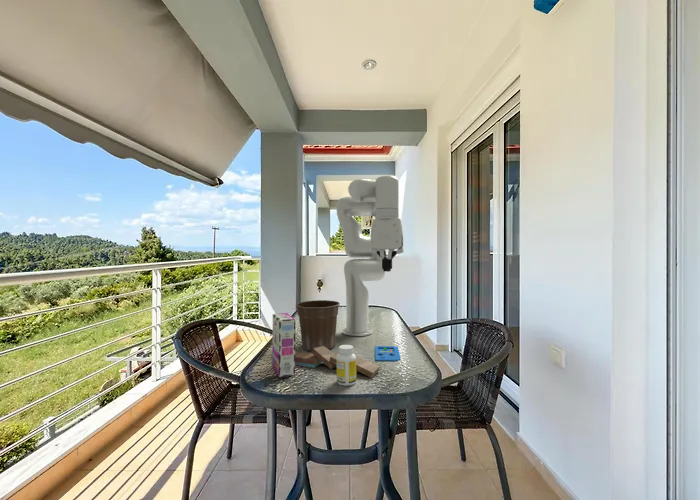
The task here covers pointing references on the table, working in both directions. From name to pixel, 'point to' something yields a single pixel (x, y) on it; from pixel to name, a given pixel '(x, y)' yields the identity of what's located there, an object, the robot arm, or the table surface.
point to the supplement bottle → (346, 366)
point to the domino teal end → (307, 364)
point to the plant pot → (318, 323)
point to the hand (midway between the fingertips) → (387, 271)
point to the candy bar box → (283, 344)
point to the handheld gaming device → (387, 353)
